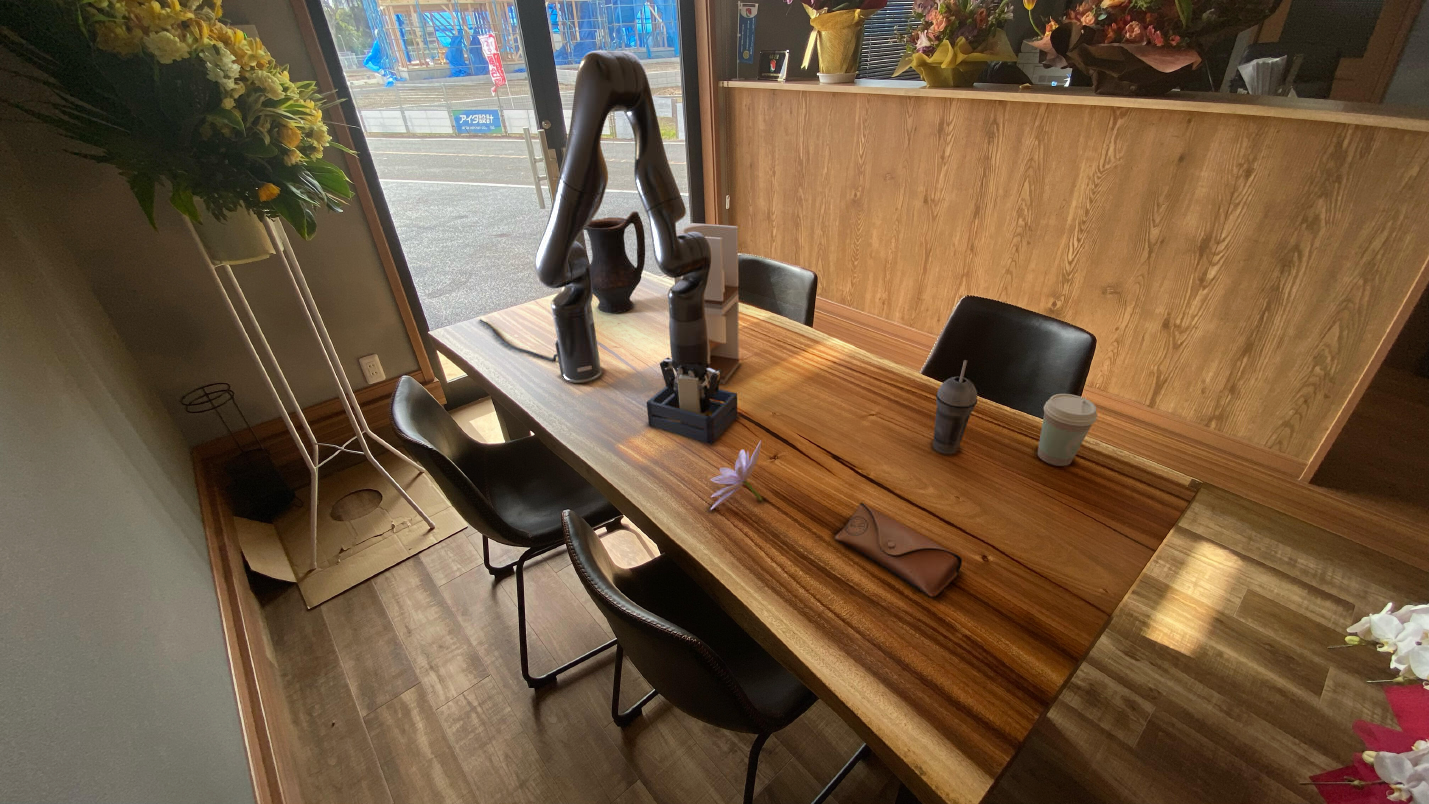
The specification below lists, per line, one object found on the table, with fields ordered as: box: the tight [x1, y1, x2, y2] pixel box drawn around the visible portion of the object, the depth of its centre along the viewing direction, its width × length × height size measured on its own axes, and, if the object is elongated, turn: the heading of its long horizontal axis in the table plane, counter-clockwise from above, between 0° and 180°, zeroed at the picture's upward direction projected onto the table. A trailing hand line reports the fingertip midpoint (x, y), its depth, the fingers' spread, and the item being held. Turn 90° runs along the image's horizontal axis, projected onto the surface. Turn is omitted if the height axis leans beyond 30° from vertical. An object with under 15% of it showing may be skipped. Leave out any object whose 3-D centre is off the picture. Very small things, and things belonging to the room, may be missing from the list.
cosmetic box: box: [677, 374, 707, 429], centre depth 121 cm, size 6×4×12 cm
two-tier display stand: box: [673, 222, 740, 385], centre depth 135 cm, size 11×11×35 cm
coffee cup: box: [1037, 393, 1098, 467], centre depth 107 cm, size 8×9×12 cm
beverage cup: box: [932, 359, 978, 455], centre depth 108 cm, size 7×7×20 cm
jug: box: [583, 211, 646, 314], centre depth 174 cm, size 21×18×30 cm
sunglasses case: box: [834, 502, 963, 598], centre depth 89 cm, size 18×7×7 cm
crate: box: [646, 386, 738, 445], centre depth 123 cm, size 16×12×6 cm
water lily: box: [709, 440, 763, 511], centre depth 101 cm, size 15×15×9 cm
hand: (692, 407), depth 123 cm, fingers closed on cosmetic box, 5 cm apart
